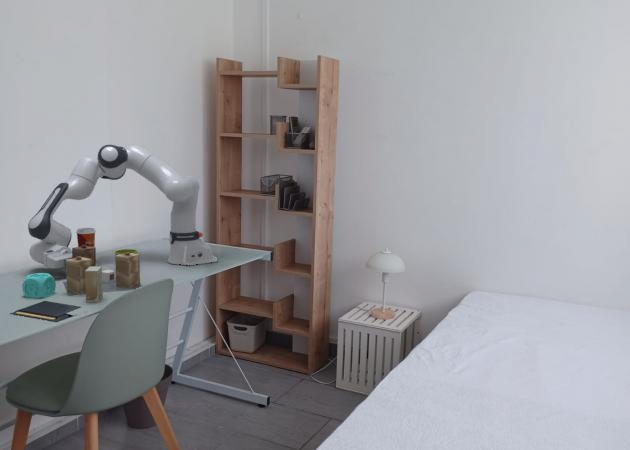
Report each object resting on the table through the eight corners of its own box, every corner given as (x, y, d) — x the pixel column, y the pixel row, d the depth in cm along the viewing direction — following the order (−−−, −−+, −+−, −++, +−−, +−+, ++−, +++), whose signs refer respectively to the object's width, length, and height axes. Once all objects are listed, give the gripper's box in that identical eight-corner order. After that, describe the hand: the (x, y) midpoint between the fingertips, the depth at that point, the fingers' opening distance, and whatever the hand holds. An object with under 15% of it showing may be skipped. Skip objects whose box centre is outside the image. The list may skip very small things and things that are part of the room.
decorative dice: (37, 293, 221) (36, 272, 220) (56, 295, 220) (55, 273, 218) (22, 299, 214) (21, 277, 212) (42, 301, 212) (41, 279, 211)
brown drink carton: (84, 274, 246) (84, 243, 244) (95, 276, 243) (95, 245, 242) (72, 277, 241) (72, 245, 239) (83, 279, 238) (83, 247, 236)
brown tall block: (128, 282, 235) (127, 250, 233) (140, 284, 232) (139, 252, 230) (116, 286, 230) (115, 252, 228) (128, 288, 227) (127, 254, 225)
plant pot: (128, 275, 250) (128, 254, 249) (109, 272, 254) (109, 252, 252) (142, 270, 259) (142, 250, 258) (124, 267, 262) (123, 248, 261)
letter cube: (108, 279, 239) (108, 269, 238) (115, 280, 237) (115, 271, 236) (100, 281, 235) (100, 271, 235) (108, 283, 234) (107, 273, 233)
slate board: (134, 278, 246) (134, 275, 246) (144, 290, 228) (144, 288, 228) (63, 284, 234) (62, 282, 233) (68, 298, 216) (68, 295, 216)
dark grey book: (89, 306, 204) (54, 319, 190) (89, 311, 205) (55, 324, 191) (44, 298, 212) (8, 310, 198) (45, 303, 212) (8, 315, 198)
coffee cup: (90, 264, 266) (88, 231, 263) (73, 263, 267) (71, 230, 265) (100, 260, 274) (99, 228, 271) (84, 259, 275) (82, 226, 273)
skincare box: (90, 299, 216) (89, 266, 214) (103, 299, 216) (102, 266, 214) (85, 304, 210) (84, 270, 208) (98, 304, 210) (97, 270, 208)
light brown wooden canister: (80, 288, 226) (79, 254, 224) (92, 290, 223) (91, 256, 221) (67, 291, 221) (65, 257, 218) (79, 294, 218) (77, 259, 215)
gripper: (82, 259, 257) (105, 263, 250) (40, 269, 239) (65, 274, 232) (81, 244, 255) (105, 248, 249) (39, 253, 238) (64, 258, 231)
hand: (85, 261), depth 241 cm, fingers closed on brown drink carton, 6 cm apart
